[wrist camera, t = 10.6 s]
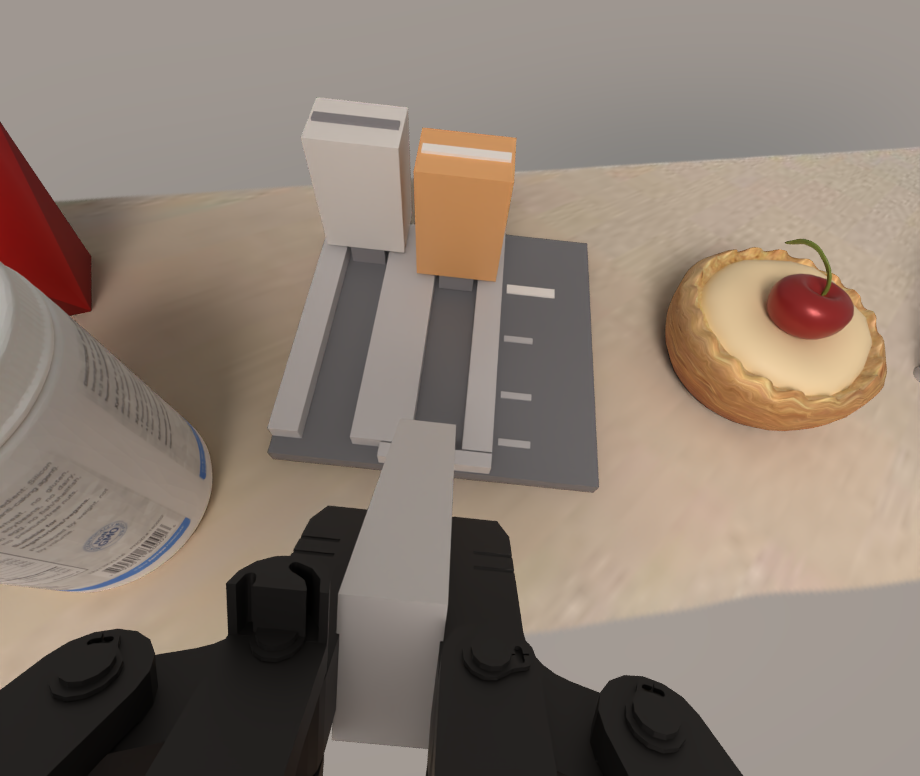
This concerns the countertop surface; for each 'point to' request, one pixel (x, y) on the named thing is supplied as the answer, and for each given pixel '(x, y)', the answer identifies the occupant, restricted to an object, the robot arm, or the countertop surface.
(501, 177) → the fader knob
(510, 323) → the console board
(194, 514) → the supplement tub
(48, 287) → the french fries
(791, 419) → the pastry
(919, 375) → the dog figurine
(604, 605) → the countertop surface
